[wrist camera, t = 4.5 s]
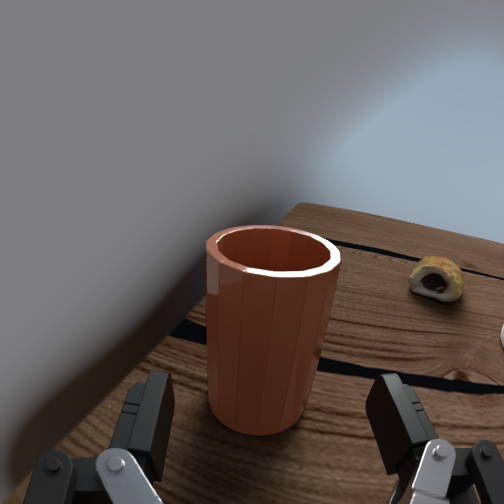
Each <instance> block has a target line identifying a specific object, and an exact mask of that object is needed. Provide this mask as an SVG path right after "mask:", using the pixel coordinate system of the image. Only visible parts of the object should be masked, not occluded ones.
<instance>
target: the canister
mask: <svg viewBox="0 0 504 504" xmlns="http://www.w3.org/2000/svg"><path fill="white" fill-rule="evenodd" d="M340 265H341V255H340V251H339V250H338V249H337V248H336V247H335V246H334V245H333V244H332V243H331V242H329V241H327V240H325V239H323V238H321V237H319V236H317V235H314V234H312V233H308V232H305V231H301V230H297V229H293V228H286V227H279V226H268V225H266V226H265V225H252V226H250V225H249V226H241V227H233V228H229V229H226V230H224V231H220V232H218V233H215V234H214V235H213V236H212V237H211V238H210V239H209V240H207V242H206V349H207V383H208V400H209V405H210V408H211V410H212V412H213V414H214V415H215V416H216V418H217V419H218V420H219V421H220V422H221V423H223V424H224V425H225V426H227V427H229V428H230V429H232V430H235V431H237V432H240V433H243V434H248V435H256V436H263V435H272V434H276V433H279V432H282V431H284V430H286V429H288V428H290V427H291V426H293V425H294V424H295V423H296V422H297V421H298V420H299V419H300V418H301V416H302V414H303V412H304V410H305V408H306V405H307V402H308V399H309V395H310V392H311V388H312V385H313V381H314V377H315V374H316V370H317V366H318V362H319V358H320V355H321V351H322V347H323V343H324V338H325V334H326V330H327V326H328V322H329V317H330V313H331V308H332V304H333V299H334V295H335V290H336V285H337V280H338V275H339V270H340Z"/></svg>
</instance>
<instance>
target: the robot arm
mask: <svg viewBox="0 0 504 504" xmlns="http://www.w3.org/2000/svg"><path fill="white" fill-rule="evenodd" d="M174 406H175V400H174V392H173V386H172V378H171V374H170V373H168V372H159V371H150V373H149V376H148V379H147V382H146V383H139V382H136V383H135V384H134V385H133V386H132V388H131V389H130V390H129V391H128V393H127V395H126V398H125V401H124V404H123V407H122V410H121V413H120V416H119V419H118V422H117V425H116V428H115V431H114V434H113V437H112V440H111V443H110V445H109V447H108V449H107V450H105V451H103V452H102V453H101V454H100V455H98V456H96V457H90V458H70V457H69V456H68V455H67V454H66V453H65V452H63V451H60V450H56V449H51V450H47V451H45V452H43V453H42V454H41V455H40V456H39V457H38V459H37V462H36V464H35V467H34V470H33V473H32V476H31V479H30V482H29V485H28V488H27V492H26V495H25V498H24V502H23V504H164V503H163V502H162V500H161V499H160V497H159V496H158V495H157V493H156V492H155V490H154V489H153V487H152V485H153V481H158V482H161V481H162V475H163V469H164V463H165V458H166V452H167V447H168V441H169V436H170V430H171V425H172V420H173V415H174ZM366 413H367V416H368V419H369V422H370V425H371V428H372V430H373V433H374V436H375V439H376V442H377V445H378V448H379V451H380V454H381V457H382V460H383V463H384V466H385V469H386V472H387V475H391V474H396V473H398V476H399V478H398V479H397V481H396V483H395V485H394V488H393V490H392V492H391V494H390V496H389V499H388V501H387V503H386V504H479V502H478V499H477V496H476V493H475V491H474V488H473V484H475V486H476V489H477V492H478V494H479V497H480V500H481V504H504V461H503V459H502V457H501V455H500V453H499V451H498V449H497V447H496V446H495V444H493V443H492V442H490V441H488V440H480V441H478V442H476V443H475V445H474V446H473V447H472V448H454V447H453V445H452V444H451V443H449V442H448V441H446V440H443V439H439V438H438V436H437V434H436V432H435V430H434V428H433V426H432V424H431V422H430V420H429V418H428V416H427V414H426V412H425V411H424V408H423V406H422V404H421V403H420V400H419V398H418V396H417V394H416V393H415V391H414V390H413V389H411V388H410V387H409V386H408V385H407V384H402V382H401V380H400V378H399V376H398V375H397V374H396V373H392V374H382V375H378V376H377V377H376V379H375V381H374V384H373V386H372V388H371V391H370V393H369V395H368V397H367V400H366Z"/></svg>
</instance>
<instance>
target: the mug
mask: <svg viewBox="0 0 504 504" xmlns="http://www.w3.org/2000/svg"><path fill="white" fill-rule="evenodd" d="M500 337H501V343H502V346H503V348H504V325H503V328H502V330H501V334H500Z"/></svg>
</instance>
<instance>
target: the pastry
mask: <svg viewBox="0 0 504 504" xmlns="http://www.w3.org/2000/svg"><path fill="white" fill-rule="evenodd" d="M408 282H409V284H410V288H411V290H412V291H413V292H415V293H418V294H421V295H423V296H427V297H433V298H436V299H437V300H439V301H443V302H454V301H456V300H458V299H459V298H460V296H461V295H462V294H463V288H464V285H465V282H464V276H463V273H462V271H461V269H460V267H459V266H458V265H456V264H455V263H453V262H452V261H449V260H448V259H446V258H444V257H437V256H434V257H431V256H427V257H425V258H423V260H421V261H419V262H417V263H416V265H415V266H414V269H413V272H412V274H411V276H409V278H408Z"/></svg>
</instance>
